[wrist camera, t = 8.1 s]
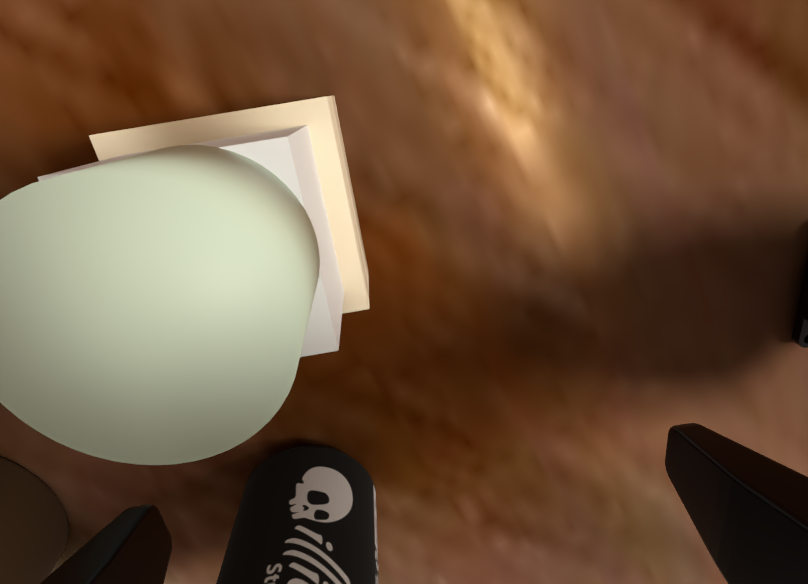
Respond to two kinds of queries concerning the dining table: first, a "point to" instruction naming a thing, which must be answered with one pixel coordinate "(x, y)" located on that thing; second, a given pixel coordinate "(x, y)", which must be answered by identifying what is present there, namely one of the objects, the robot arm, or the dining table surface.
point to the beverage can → (305, 522)
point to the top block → (298, 170)
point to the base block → (275, 117)
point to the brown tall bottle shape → (28, 526)
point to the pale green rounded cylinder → (154, 303)
